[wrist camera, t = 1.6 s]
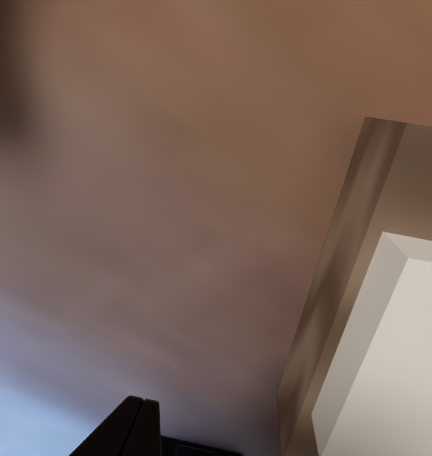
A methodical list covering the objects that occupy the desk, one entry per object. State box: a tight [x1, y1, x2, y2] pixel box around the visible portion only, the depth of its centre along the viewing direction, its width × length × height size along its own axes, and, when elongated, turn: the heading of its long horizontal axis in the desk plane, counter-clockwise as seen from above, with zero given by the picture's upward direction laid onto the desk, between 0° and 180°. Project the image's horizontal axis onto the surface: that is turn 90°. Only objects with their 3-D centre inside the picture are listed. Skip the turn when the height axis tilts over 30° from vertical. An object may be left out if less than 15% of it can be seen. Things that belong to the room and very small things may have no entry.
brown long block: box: [277, 117, 432, 456], centre depth 14 cm, size 16×7×4 cm, turn 171°
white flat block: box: [311, 232, 432, 456], centre depth 12 cm, size 9×6×2 cm, turn 171°
